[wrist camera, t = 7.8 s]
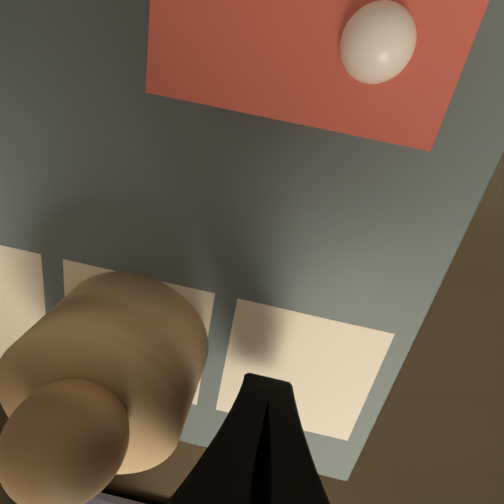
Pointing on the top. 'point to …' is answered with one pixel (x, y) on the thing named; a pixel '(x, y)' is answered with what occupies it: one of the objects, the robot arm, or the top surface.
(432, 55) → the die
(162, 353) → the pawn
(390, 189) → the board
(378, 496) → the top surface
